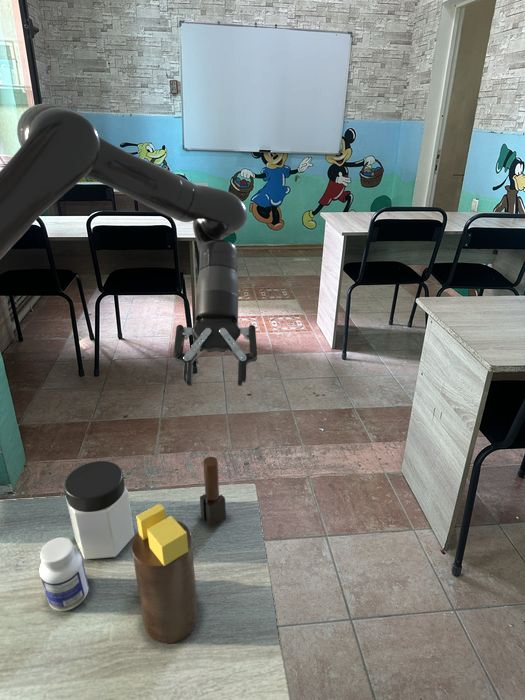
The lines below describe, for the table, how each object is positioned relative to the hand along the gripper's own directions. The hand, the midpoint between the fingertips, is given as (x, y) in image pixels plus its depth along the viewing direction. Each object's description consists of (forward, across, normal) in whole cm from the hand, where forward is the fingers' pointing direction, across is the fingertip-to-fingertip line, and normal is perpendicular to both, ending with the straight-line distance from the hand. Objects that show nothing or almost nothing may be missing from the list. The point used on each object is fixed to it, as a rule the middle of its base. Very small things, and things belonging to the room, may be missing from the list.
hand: (214, 384), depth 81 cm
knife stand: (+21, 0, +5) cm, 22 cm away
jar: (+24, -16, +2) cm, 29 cm away
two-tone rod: (+21, 0, +5) cm, 22 cm away
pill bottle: (+31, -19, -5) cm, 37 cm away
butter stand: (+34, -4, -7) cm, 35 cm away
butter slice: (+22, -6, -16) cm, 28 cm away
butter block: (+24, -3, -18) cm, 31 cm away
